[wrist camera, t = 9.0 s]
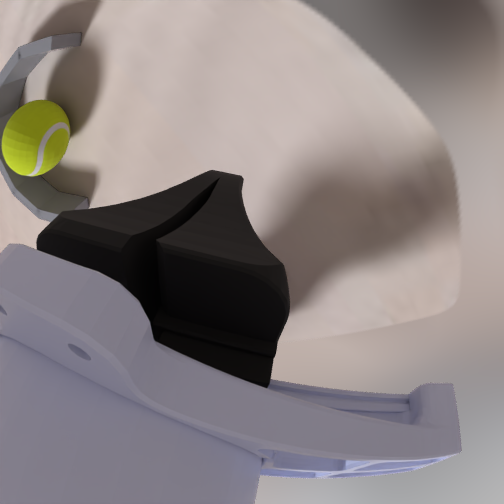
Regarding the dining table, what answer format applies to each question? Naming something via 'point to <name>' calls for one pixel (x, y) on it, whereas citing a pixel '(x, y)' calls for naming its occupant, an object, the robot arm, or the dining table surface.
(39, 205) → the catch ring
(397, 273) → the dining table surface
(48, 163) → the tennis ball
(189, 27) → the dining table surface
